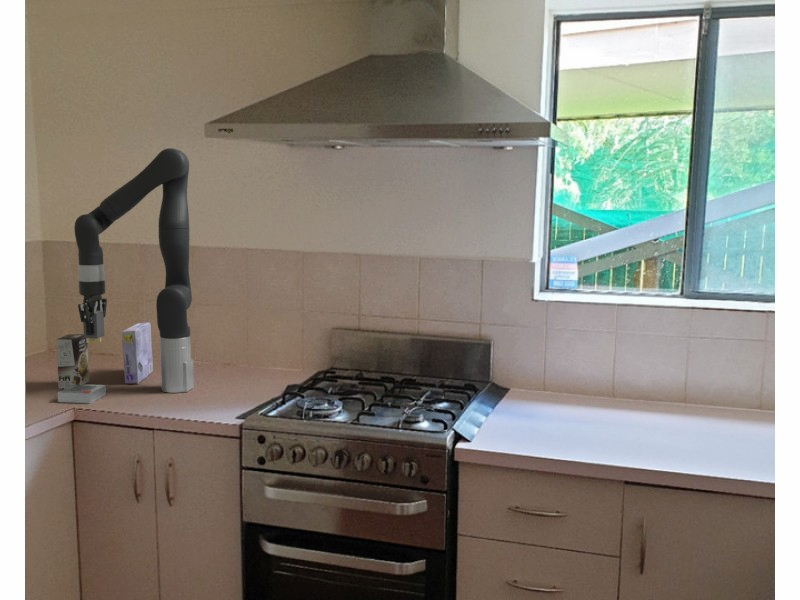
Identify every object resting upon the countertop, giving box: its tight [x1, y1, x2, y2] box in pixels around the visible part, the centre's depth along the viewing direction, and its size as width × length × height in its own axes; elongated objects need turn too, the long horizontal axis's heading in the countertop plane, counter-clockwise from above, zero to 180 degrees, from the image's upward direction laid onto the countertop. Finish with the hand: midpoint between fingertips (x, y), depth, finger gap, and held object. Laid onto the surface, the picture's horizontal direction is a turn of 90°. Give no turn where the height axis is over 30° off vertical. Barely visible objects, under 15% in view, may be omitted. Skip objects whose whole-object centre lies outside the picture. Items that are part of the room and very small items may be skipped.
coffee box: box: [56, 333, 90, 389], centre depth 246 cm, size 9×6×16 cm
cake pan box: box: [121, 322, 154, 385], centre depth 258 cm, size 19×5×18 cm, turn 2°
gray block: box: [82, 310, 105, 343], centre depth 239 cm, size 4×4×10 cm
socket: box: [57, 383, 107, 404], centre depth 233 cm, size 10×10×4 cm
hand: (94, 333), depth 239 cm, fingers closed on gray block, 4 cm apart
